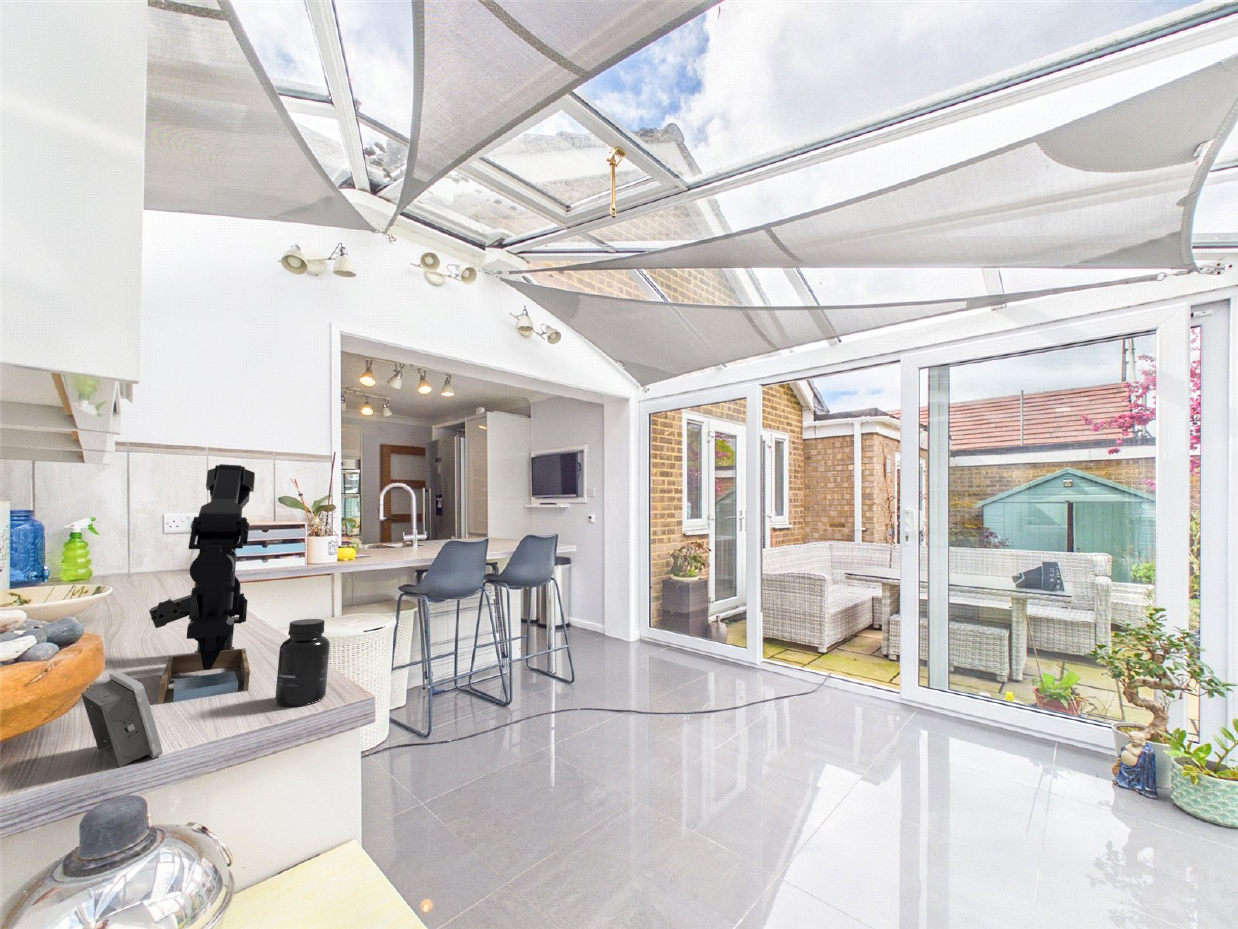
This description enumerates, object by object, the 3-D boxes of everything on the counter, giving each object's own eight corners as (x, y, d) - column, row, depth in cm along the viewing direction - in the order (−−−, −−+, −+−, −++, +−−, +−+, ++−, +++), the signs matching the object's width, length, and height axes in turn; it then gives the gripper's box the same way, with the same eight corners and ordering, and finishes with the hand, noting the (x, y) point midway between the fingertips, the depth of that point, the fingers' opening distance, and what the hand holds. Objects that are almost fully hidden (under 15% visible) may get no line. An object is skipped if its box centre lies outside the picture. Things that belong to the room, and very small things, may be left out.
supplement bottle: (270, 710, 78) (276, 626, 79) (280, 695, 84) (285, 618, 85) (323, 704, 80) (328, 624, 82) (328, 691, 87) (333, 616, 88)
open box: (167, 674, 94) (169, 656, 95) (244, 664, 101) (245, 648, 101) (157, 704, 80) (159, 683, 80) (248, 690, 86) (249, 671, 87)
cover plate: (173, 692, 87) (174, 679, 87) (233, 682, 92) (234, 670, 92) (172, 705, 81) (174, 692, 81) (237, 694, 86) (238, 681, 86)
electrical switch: (164, 757, 62) (162, 678, 63) (104, 780, 58) (102, 695, 58) (136, 739, 68) (135, 666, 68) (80, 758, 63) (78, 680, 63)
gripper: (160, 577, 98) (152, 664, 96) (150, 589, 83) (140, 692, 82) (234, 574, 105) (227, 655, 103) (237, 584, 90) (229, 679, 88)
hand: (207, 669), depth 94 cm, fingers closed
